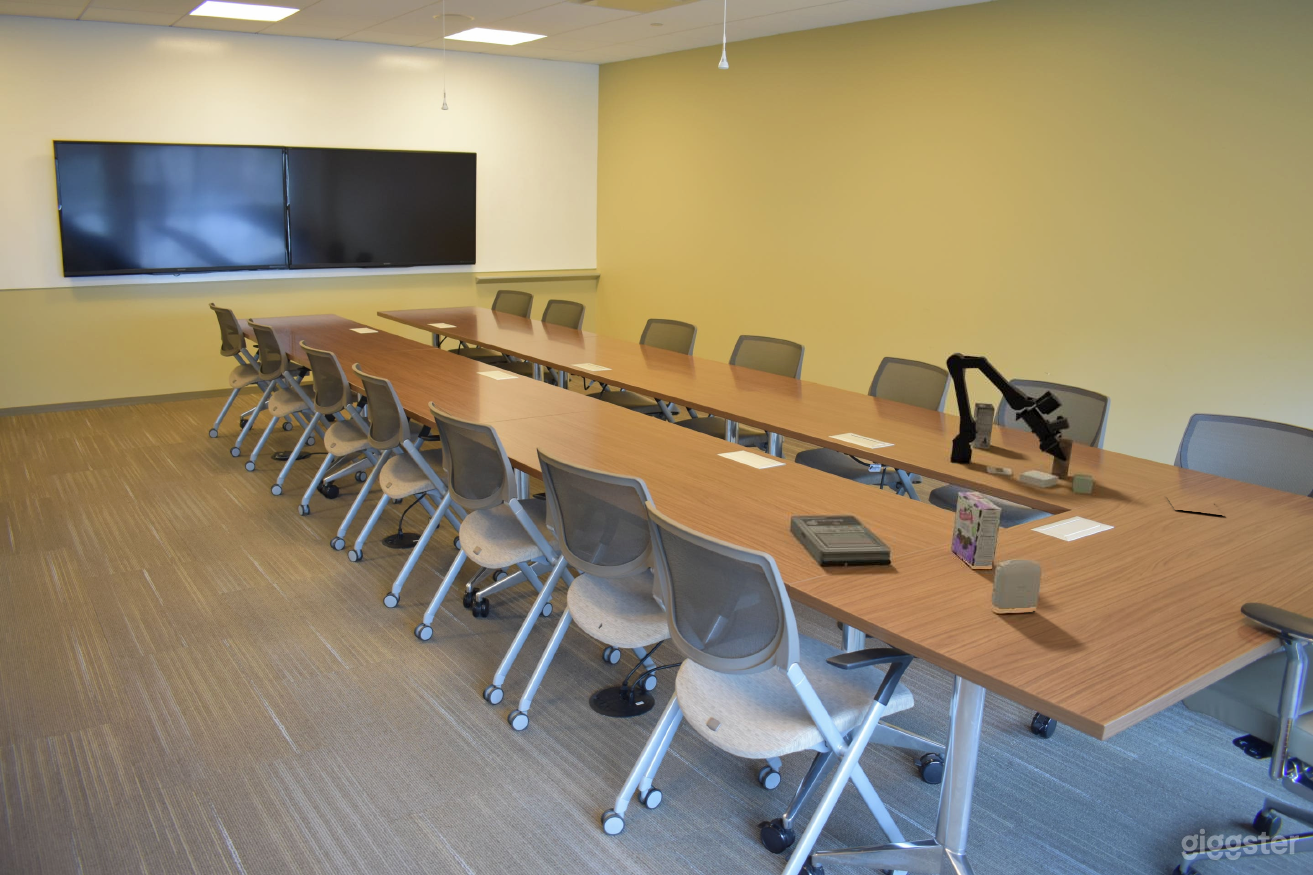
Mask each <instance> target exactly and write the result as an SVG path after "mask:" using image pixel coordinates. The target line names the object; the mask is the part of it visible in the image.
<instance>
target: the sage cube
mask: <svg viewBox="0 0 1313 875" xmlns="http://www.w3.org/2000/svg"><path fill="white" fill-rule="evenodd" d="M1093 483H1094V478H1093V476H1092V475H1090V474H1089V475H1088V474H1081V473H1080V474H1079V473H1074V475H1073V482H1072V486H1071V487H1072V491H1073V492H1074V493H1078V494H1079V493H1080V494H1089V495H1091V494H1092V489H1093Z"/></svg>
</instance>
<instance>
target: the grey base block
mask: <svg viewBox="0 0 1313 875" xmlns="http://www.w3.org/2000/svg"><path fill="white" fill-rule="evenodd" d="M1051 474H1052V473H1048V472H1047V473H1046V472H1042V471H1039V470H1035V469H1032V470H1029V471H1025V472H1022V473H1019V475H1018V482H1020V481H1021V482H1020V483H1024V484H1028V485H1031V486H1034V487H1039V488H1042V489H1044V488H1049V487H1051V486H1055V485H1058V483H1059V478H1058V477H1059V476H1055V475H1051Z"/></svg>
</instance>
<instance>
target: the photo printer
mask: <svg viewBox="0 0 1313 875" xmlns="http://www.w3.org/2000/svg"><path fill="white" fill-rule="evenodd" d="M994 570H995V571H994V577H993V587H992V593H991V601H990V603H991V602H992V605H994V606H995V607H998V608H999V609H1010V608H1011V609H1015V608H1030V607H1037V608H1038V600H1039V593H1040V587H1041V581H1042V580H1041V579H1042V567H1041V564H1040V563H1038V562H1037V561H1036V560H1032V559H1031V560H1030V559H1027V558H1015V559H1014V558H1013V559H1010V560H1009V559H1008V560H1004V561H1001V562H998V563H997V564H996V566H995V568H994Z"/></svg>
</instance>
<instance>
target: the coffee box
mask: <svg viewBox="0 0 1313 875" xmlns="http://www.w3.org/2000/svg"><path fill="white" fill-rule="evenodd" d="M995 410H996V409H995V406H994V405H993V404H992V403H984V402H983V403H981V402H975V403H974V411H973V419H974V420H977V419H978V426H979V428H980V431H979V433H978V436H977V437H976V439H975V440H974V441H973V442H971V443H970V444H971V447H972V449H973V448H974V449H982V450H983V449H984V450H985V449H987V450H990V447H991V446H990V445H991V440H992V439H991V438H992V432H993V424H994V417H995Z"/></svg>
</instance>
